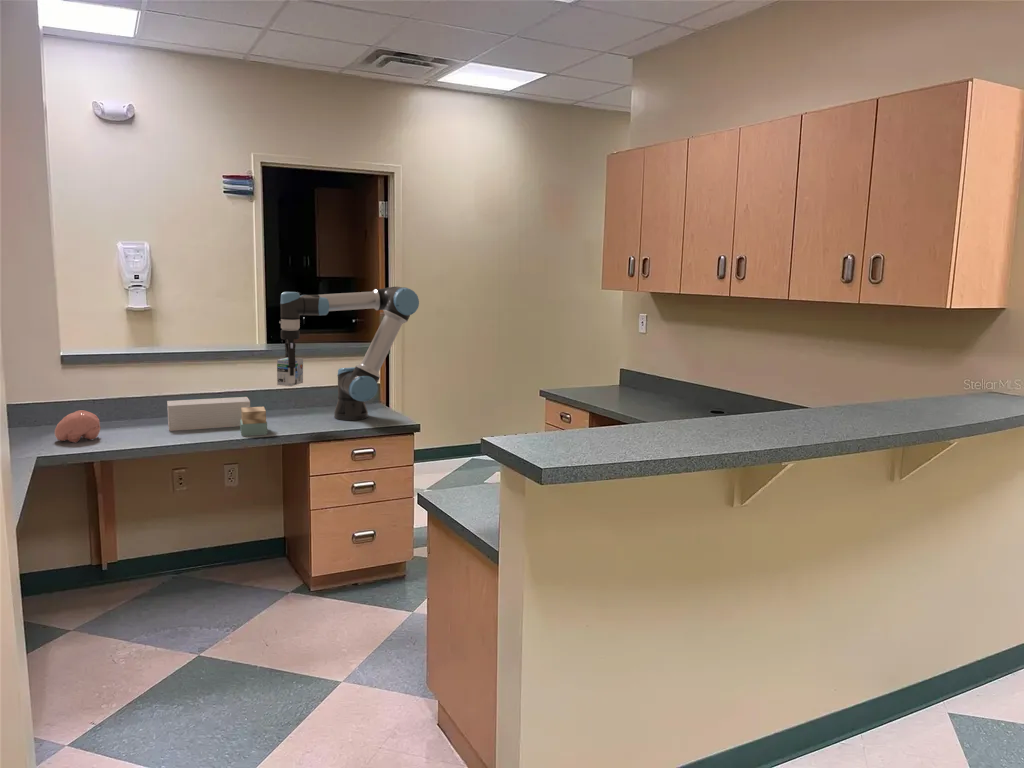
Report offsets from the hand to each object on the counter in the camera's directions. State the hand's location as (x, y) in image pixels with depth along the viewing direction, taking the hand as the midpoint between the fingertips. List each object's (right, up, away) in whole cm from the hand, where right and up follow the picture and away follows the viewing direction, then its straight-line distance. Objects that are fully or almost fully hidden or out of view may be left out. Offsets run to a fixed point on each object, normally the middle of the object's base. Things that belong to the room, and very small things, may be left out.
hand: (290, 380), depth 309 cm
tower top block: (-14, -17, -4) cm, 22 cm away
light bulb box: (0, -2, 0) cm, 2 cm away
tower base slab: (-14, -22, -3) cm, 26 cm away
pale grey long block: (-36, -19, +6) cm, 41 cm away
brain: (-75, -23, -24) cm, 82 cm away
